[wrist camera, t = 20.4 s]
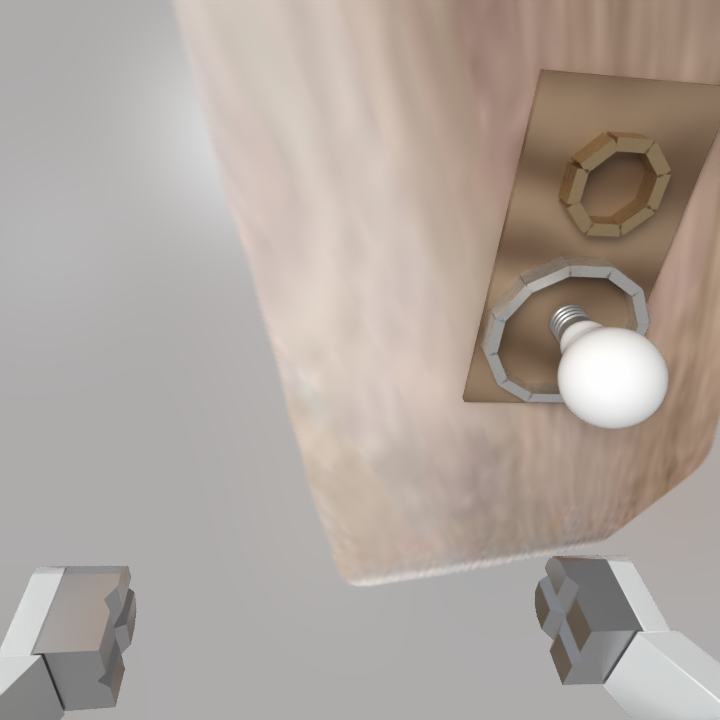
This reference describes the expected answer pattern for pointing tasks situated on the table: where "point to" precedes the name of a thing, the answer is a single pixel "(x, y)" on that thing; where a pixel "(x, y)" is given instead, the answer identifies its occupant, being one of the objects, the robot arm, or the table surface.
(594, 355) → the lightbulb
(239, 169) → the table surface
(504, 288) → the socket board
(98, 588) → the robot arm
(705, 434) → the table surface
